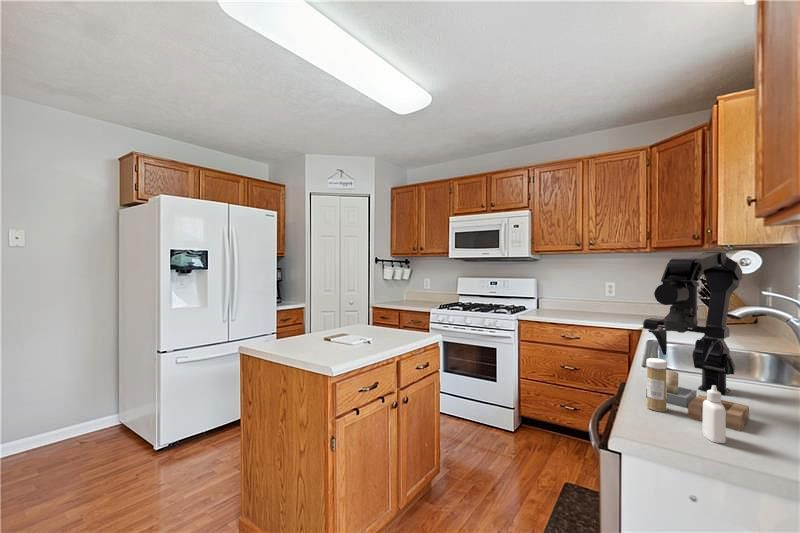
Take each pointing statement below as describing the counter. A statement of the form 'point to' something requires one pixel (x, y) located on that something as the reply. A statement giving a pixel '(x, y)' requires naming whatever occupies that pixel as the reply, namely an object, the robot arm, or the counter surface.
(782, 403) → the counter surface
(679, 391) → the gray square tray
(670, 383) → the beige wooden peg
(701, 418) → the brown square frame
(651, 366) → the sprinkles bottle
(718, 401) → the eye dropper bottle
